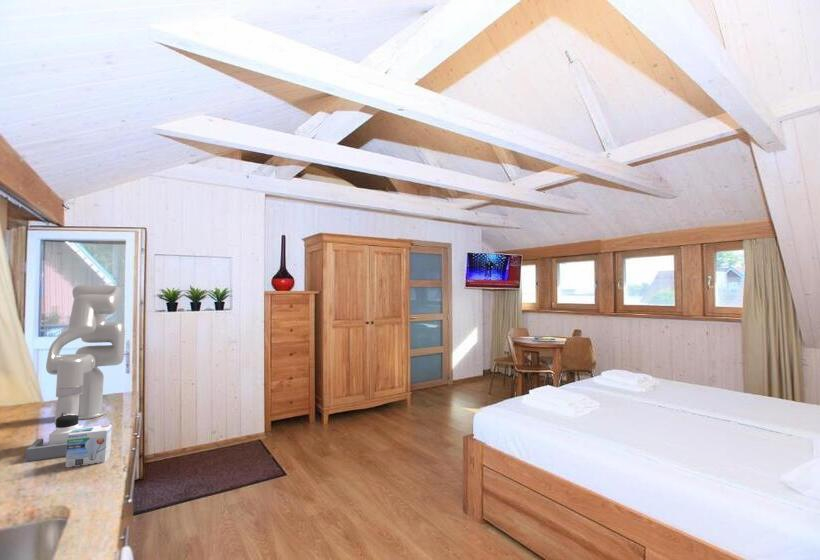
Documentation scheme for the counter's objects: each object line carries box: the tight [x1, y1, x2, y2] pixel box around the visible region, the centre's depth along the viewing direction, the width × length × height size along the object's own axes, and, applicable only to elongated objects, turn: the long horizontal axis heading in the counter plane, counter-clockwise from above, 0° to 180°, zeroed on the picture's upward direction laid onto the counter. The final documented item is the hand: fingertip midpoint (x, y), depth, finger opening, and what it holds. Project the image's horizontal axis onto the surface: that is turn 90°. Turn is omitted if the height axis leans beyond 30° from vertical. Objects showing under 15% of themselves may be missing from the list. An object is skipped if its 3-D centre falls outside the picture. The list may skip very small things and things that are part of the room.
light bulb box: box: [64, 423, 113, 468], centre depth 129 cm, size 11×7×11 cm, turn 117°
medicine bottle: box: [48, 414, 84, 445], centre depth 137 cm, size 7×7×12 cm
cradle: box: [25, 438, 67, 463], centre depth 135 cm, size 10×14×4 cm
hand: (66, 440), depth 143 cm, fingers closed
